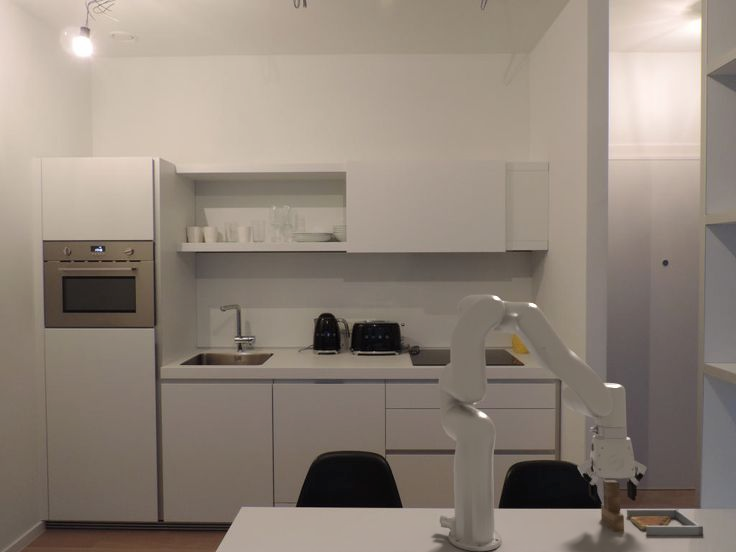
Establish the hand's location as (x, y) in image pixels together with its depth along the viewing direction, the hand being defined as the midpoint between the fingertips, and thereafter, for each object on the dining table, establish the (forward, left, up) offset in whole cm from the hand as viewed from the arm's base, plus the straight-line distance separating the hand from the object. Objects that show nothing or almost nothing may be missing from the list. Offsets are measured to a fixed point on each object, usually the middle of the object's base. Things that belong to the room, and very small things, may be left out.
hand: (612, 498), depth 143 cm
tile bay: (+11, +6, -7) cm, 14 cm away
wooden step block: (0, 0, -7) cm, 7 cm away
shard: (+8, +6, -7) cm, 12 cm away
